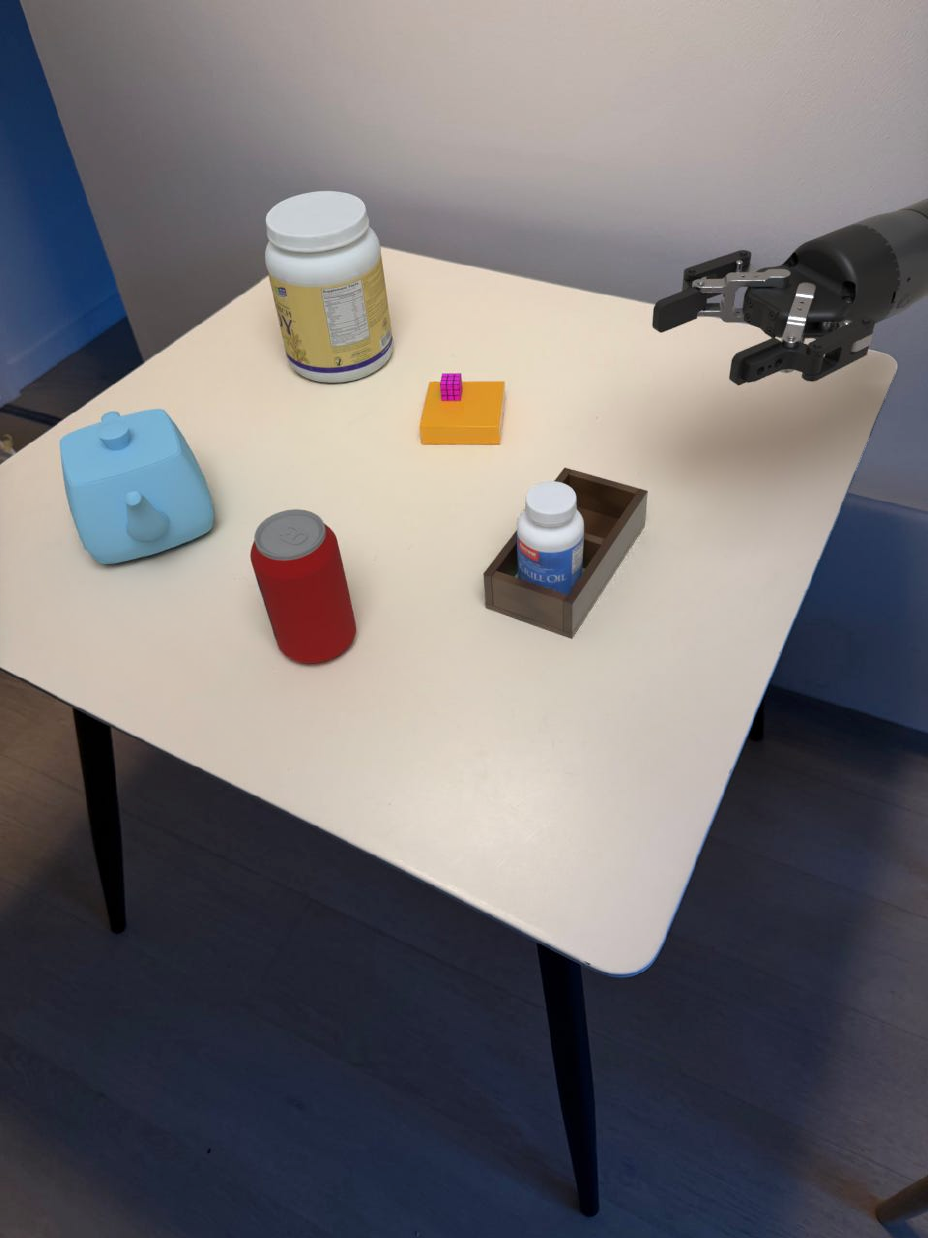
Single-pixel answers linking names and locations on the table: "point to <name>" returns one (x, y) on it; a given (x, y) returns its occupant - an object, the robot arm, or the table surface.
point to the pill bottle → (550, 537)
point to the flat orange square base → (463, 411)
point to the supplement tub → (328, 286)
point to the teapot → (134, 486)
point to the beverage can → (303, 586)
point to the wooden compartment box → (607, 540)
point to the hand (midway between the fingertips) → (693, 344)
